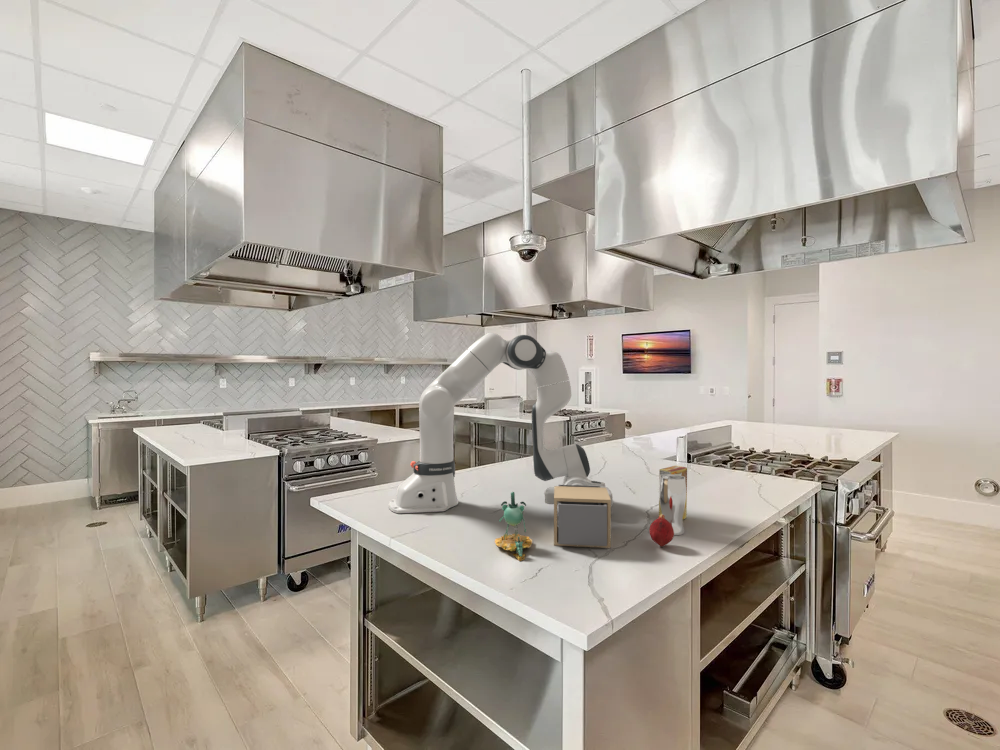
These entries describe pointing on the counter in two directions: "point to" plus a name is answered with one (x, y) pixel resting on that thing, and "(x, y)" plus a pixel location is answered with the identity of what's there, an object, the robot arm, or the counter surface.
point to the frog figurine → (513, 518)
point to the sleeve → (582, 496)
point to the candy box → (676, 471)
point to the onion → (661, 531)
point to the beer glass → (673, 500)
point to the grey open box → (582, 522)
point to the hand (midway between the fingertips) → (579, 504)
